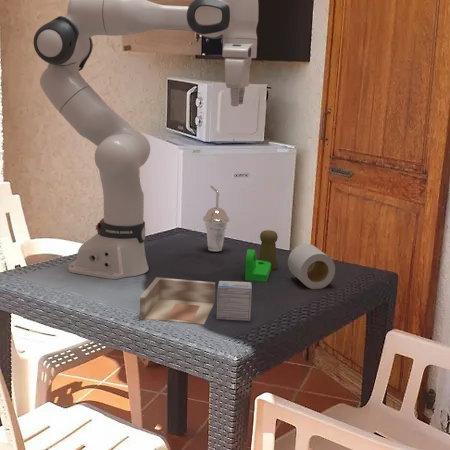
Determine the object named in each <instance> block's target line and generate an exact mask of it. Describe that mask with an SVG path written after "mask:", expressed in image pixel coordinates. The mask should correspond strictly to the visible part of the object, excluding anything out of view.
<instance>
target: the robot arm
mask: <svg viewBox="0 0 450 450" xmlns="http://www.w3.org/2000/svg"><path fill="white" fill-rule="evenodd" d="M66 10H67V11H66V12H67V13H66V16H62V15H59V16H57V17H55V18H54V19H52V20H51V21H49V22H47V23H45V24H43V25H42V26H41V27H39V28H38V29H37V30H36V32H35V34H34V36H33V48H34V51H35V52H36V54H37V56H39V58H40V59H41V60H42V61H43V62H45V63H47V64H48V65H47V68H45V69H44V71H43V72H42V74H41V75H40V79H39V86H40V87H41V89H42V91H43V94H45V96H46V97H47V99H48V100H49V101H50V103H51V104H52V105H53V107H54V108H55V109H56V110H57V112H58V113H60V115H61V116H62V117H63V118H64V119H65V121H66V122H68V124H69V125H70V126H71V127H72V128H73V129H74V130H75V131H76V132H77V134H79V135H80V136H81V137H83V138H85V139H87V140H88V141H90V142H91V143H92V144H94V146H97V147H96V149H95V152H94V161H95V162H94V163H95V165H96V167H97V169H98V172H99V177H100V182H101V187H102V194H103V218H101V219H100V220H99V222H97V224H96V225H95V231H96V234H95V235H93V236H92V237H91V238H89V239H88V240H86V241H85V242H84V243H82V244H81V245H80V247H79V248H78V250H77V253H76V259H74V260H73V261H71V262H70V263H69V264H68V269H67V270H68V272H69V273H73V274H80V275H85V276H91V277H96V278H104V279H108V280H110V279H111V280H119V279H122V278H129V277H136V276H141V275H143V274H145V273H147V272H148V271H149V265H148V262H147V258H146V251H145V239H146V222H145V220H144V214H145V213H144V203H145V201H144V199H145V198H144V197H145V196H144V195H145V194H144V192H143V190H142V186H141V181H140V179H141V178H140V173H139V172H140V168H141V167H143V166H144V165H145V164H146V162H147V160H148V159H149V156H150V154H151V144H150V142H149V139H148V138H147V137H146V136H145V135H144V134H143V133H141V132H139V131H138V130H137V129H136V128H134V126H133V125H131V124H130V123H129V122H128V121H127V120H126V119H124V118H123V117H122V116H120V114H118V113H117V112H116V111H114V110H113V109H112V108H111V107H110V105H108V103H107V102H105V100H103V99H102V97H101V96H100V95H99V94H98V92H96V90H94V88H92V86H91V85H90V84H89V82H87V81H86V80H85V79H84V77H83V76H82V75H81V73H80V71H82V70H83V69H84V67H85V65H86V63H87V61H88V59H89V58H90V56H91V55H92V52H93V47H94V44H93V39H92V37H94V36H95V37H96V36H110V37H111V36H113V37H115V36H116V37H117V36H128V35H129V36H130V35H135V34H141V33H145V32H150V31H159V30H161V31H162V30H166V31H167V30H169V31H187V32H188V31H190V32H194V33H196V34H197V35H200V36H201V37H202V36H203V37H206V38H208V39H211V40H217V39H221V38H222V51H221V52H222V56H221V57H223V58H224V78H225V79H224V81H225V86H226V88H227V89H229V90H230V91H229V92H230V93H229V94H230V105H231V107H238V106H239V105H242V104H244V95H245V92H246V89H245V88H246V87H249V84H250V71H251V69H250V68H251V67H250V66H251V65H252V59H256V58H257V53H258V50H257V48H258V33H257V27H258V24H259V0H193V1H191V3H190V4H189V6H183V5H165V4H164V5H163V4H159V3H155V2H152V1H150V0H69V2H68V5H67V9H66Z"/></svg>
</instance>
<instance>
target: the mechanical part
mask: <svg viewBox="0 0 450 450" xmlns="http://www.w3.org/2000/svg"><path fill="white" fill-rule="evenodd" d="M244 268H245V271H244V272H245V273H244V280H245V281H253V282H254V281H255V282H261V283H262V282H264V283H267V281H268V279H269V276H270V274H271V271H272V270H271V263H270V262H268V261H262V260H258V259H257V251H256V249H250V248H248V249H247V250H246V255H245V267H244Z"/></svg>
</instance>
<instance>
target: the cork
mask: <svg viewBox="0 0 450 450" xmlns="http://www.w3.org/2000/svg"><path fill="white" fill-rule="evenodd" d="M278 237H279V236H278V233H277V232H276V231H274V230H270V229H269V230H262V231H261V232H260V234H259V239H260V241H261V243H260V247H259V249H260V250H259V253H258V258H257V260H262V261H268V262H270V263H271V271H272V270H276V269H277V268H278V262H277V261H278V259H277V247H276V242H277V241H278V239H279V238H278Z"/></svg>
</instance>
